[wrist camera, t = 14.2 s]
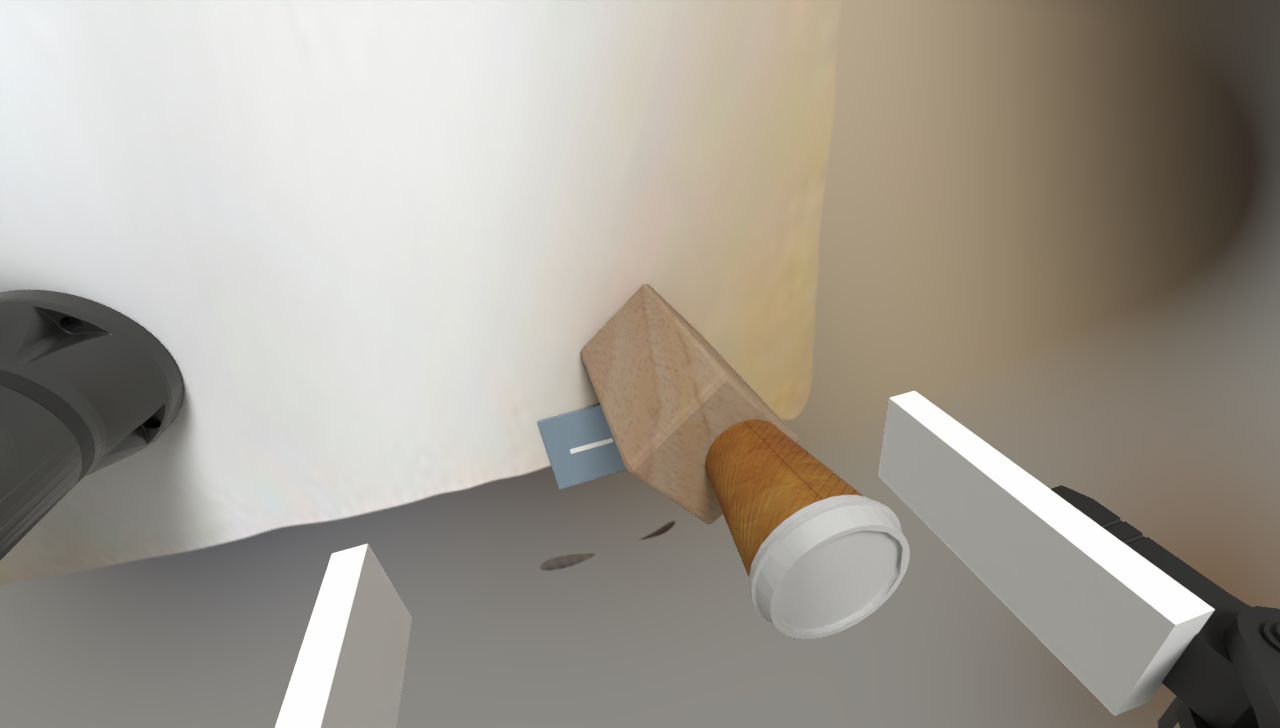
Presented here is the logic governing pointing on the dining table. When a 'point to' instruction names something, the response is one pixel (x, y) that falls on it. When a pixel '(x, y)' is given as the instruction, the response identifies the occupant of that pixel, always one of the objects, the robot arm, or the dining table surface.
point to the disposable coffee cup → (803, 533)
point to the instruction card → (580, 446)
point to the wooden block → (668, 398)
